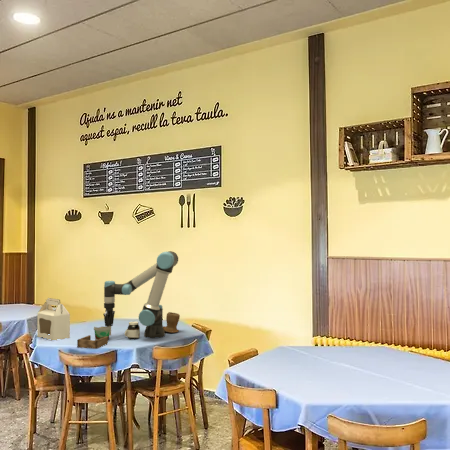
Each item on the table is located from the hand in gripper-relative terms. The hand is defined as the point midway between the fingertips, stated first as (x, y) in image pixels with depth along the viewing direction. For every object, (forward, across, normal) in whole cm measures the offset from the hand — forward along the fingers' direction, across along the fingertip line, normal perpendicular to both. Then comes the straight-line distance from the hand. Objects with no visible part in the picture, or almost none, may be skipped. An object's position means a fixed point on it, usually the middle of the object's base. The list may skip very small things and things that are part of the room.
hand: (109, 335), depth 360 cm
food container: (+2, +9, +1) cm, 9 cm away
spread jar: (+2, -5, +15) cm, 16 cm away
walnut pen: (+2, +23, +1) cm, 24 cm away
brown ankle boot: (+2, -34, +34) cm, 48 cm away
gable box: (+3, +8, -40) cm, 41 cm away
